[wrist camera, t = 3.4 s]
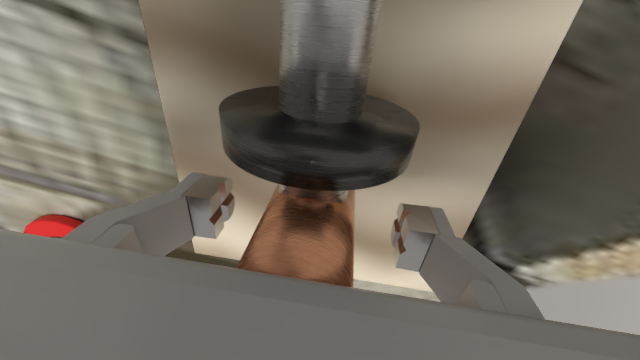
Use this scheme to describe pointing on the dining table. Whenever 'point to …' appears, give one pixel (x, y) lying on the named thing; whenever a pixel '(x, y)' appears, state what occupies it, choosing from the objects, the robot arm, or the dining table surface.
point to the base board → (383, 82)
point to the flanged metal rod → (316, 140)
